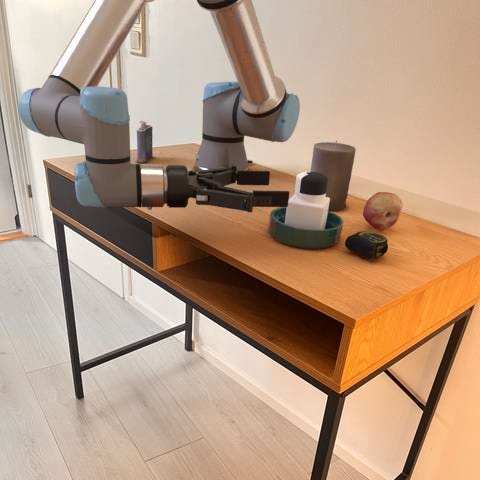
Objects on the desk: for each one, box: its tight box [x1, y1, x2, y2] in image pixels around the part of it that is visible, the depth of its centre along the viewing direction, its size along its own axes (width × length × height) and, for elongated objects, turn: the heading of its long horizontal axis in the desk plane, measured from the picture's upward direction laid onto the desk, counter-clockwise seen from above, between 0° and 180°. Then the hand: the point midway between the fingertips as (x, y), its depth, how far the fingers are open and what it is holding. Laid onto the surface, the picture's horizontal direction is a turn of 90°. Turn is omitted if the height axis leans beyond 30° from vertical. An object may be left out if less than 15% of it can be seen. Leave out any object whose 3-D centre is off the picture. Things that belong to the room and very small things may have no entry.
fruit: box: [362, 191, 404, 231], centre depth 105 cm, size 8×8×8 cm
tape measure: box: [344, 230, 389, 261], centre depth 92 cm, size 7×7×4 cm
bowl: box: [268, 207, 344, 250], centre depth 99 cm, size 14×14×4 cm
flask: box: [136, 120, 154, 164], centre depth 141 cm, size 9×3×11 cm, turn 172°
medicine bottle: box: [285, 170, 330, 230], centre depth 96 cm, size 7×7×12 cm
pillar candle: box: [309, 140, 357, 212], centre depth 115 cm, size 10×10×15 cm
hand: (278, 188), depth 93 cm, fingers open, 13 cm apart
